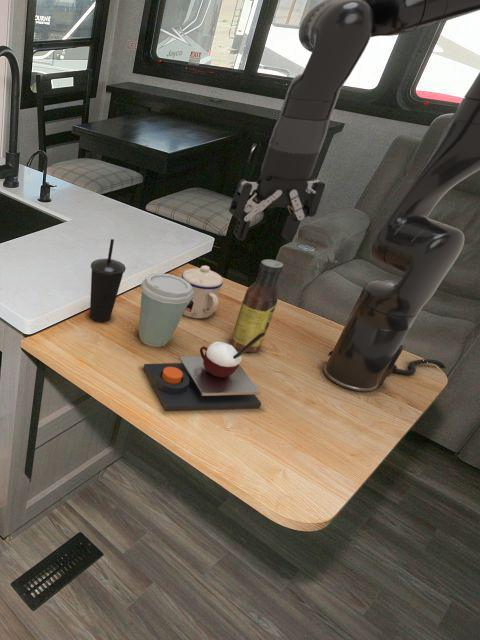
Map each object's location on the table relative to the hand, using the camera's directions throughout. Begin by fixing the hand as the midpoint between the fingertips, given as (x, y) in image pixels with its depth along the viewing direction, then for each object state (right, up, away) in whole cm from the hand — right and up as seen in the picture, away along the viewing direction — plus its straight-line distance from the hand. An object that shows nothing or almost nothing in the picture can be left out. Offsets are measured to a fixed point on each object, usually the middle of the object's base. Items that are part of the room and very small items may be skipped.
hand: (262, 238), depth 94 cm
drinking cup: (-22, -13, +31) cm, 40 cm away
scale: (-8, -28, +9) cm, 30 cm away
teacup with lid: (+2, -12, +33) cm, 35 cm away
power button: (-14, -26, +8) cm, 30 cm away
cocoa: (-5, -25, +7) cm, 26 cm away
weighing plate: (-5, -25, +8) cm, 27 cm away
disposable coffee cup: (-11, -18, +23) cm, 32 cm away
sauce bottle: (+8, -20, +21) cm, 30 cm away
